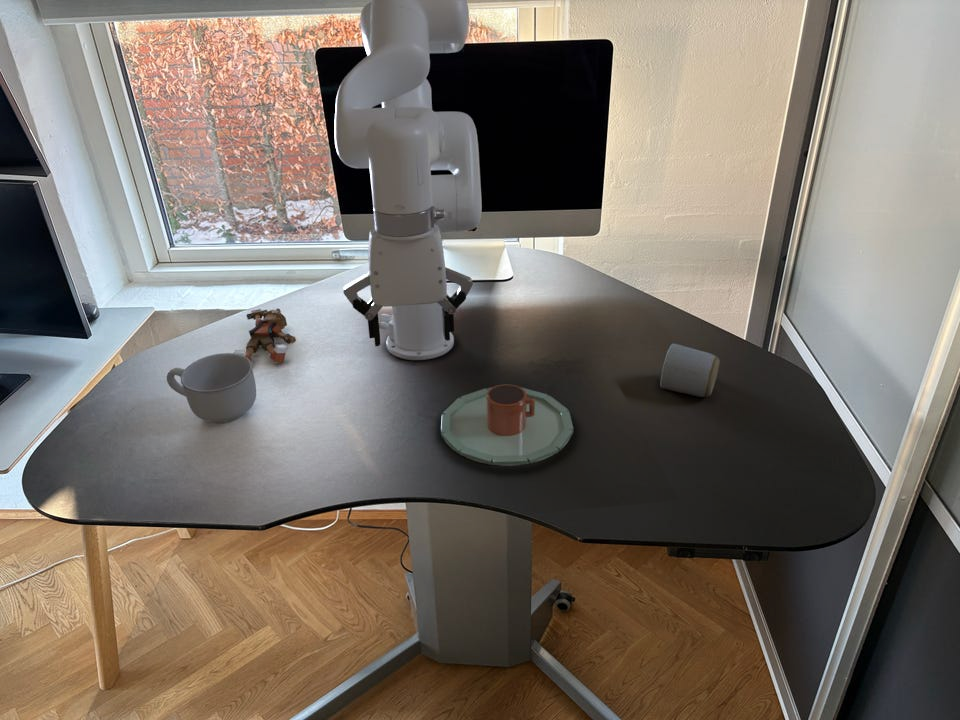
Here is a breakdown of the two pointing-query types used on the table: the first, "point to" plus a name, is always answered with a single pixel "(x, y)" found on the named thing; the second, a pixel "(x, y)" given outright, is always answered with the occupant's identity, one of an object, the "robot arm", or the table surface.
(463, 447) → the plate
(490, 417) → the espresso cup
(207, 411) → the teacup
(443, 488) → the table surface
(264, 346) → the character figurine
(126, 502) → the table surface
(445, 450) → the table surface
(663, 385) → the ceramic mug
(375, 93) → the robot arm
